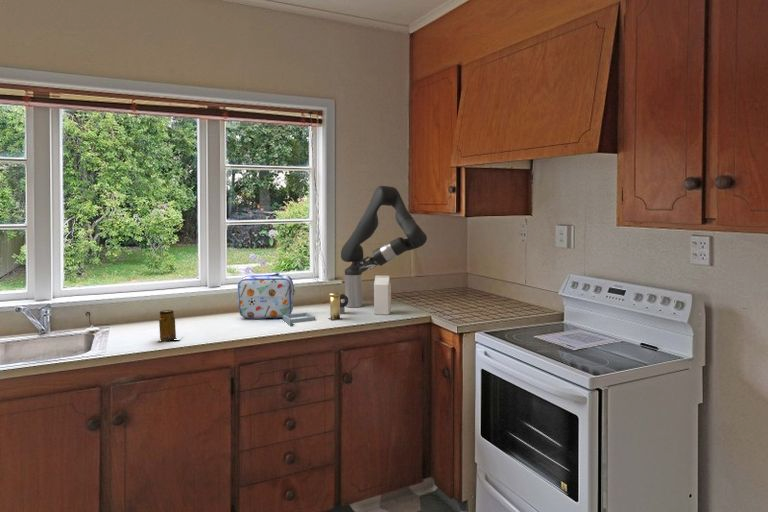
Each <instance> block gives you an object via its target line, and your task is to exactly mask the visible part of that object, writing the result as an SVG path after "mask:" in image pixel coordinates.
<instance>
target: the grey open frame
mask: <svg viewBox="0 0 768 512" xmlns="http://www.w3.org/2000/svg"><path fill="white" fill-rule="evenodd" d="M282 317H283V318H282V322H283V321H284V322H283V323H285V322H286V323H287V324H288V326H289V325H290V326H289V327H294V326H293V325H296V323H303V322H312V321H316V316H314V315H312V314H311V313H309V312H300V313H299V312H298V313H291V314H288V315H283V316H282ZM286 323H285V324H286ZM287 324H286V325H287Z"/></svg>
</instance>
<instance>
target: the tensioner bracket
mask: <svg viewBox="0 0 768 512" xmlns="http://www.w3.org/2000/svg"><path fill="white" fill-rule="evenodd" d="M339 293H340V315H344V314H346V313H345V312H346V310H345V307H346V305H347V304H348V297H347V296H346V295H345V293H344V292H339ZM327 319H328V320H330V321H331V322H333V321H335V320H331V317H329V318H327ZM342 320H344V319H343V318H341V317H340V319H339V320H338V321H342Z"/></svg>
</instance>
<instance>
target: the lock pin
mask: <svg viewBox="0 0 768 512" xmlns="http://www.w3.org/2000/svg"><path fill="white" fill-rule="evenodd" d="M340 293H341V292H336V291H335V292H333V291H332V292H329V293H328V297H329V304H330V309H329V310H330V314H329V315H330V318H331V320H334V321H340V320H339V319H340V318H341V314H340ZM331 320H330V321H331Z"/></svg>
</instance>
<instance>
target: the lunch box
mask: <svg viewBox="0 0 768 512" xmlns="http://www.w3.org/2000/svg"><path fill="white" fill-rule="evenodd" d="M296 292H297V289H296V288H295V284H294V282H293V279H292V278H291V277H290V275H284V274H283V275H280V273H278V272H277V273H274V274H259V275H257V274H256V275H255V274H254V275H253V274H252V275H246V276H244V277H243V276H242V278H241V279H240V280H239V281H238V284H237V299H238V311H239V315H240V316H241V317H242V318H243V319H244V318H245V319H250V320H251V319H253V320H254V319H255V320H257V319H258V320H259V319H260V320H267V319H266V318H273V319H283V315H288V314H292V312H293V310H294V295H295V293H296Z"/></svg>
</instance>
